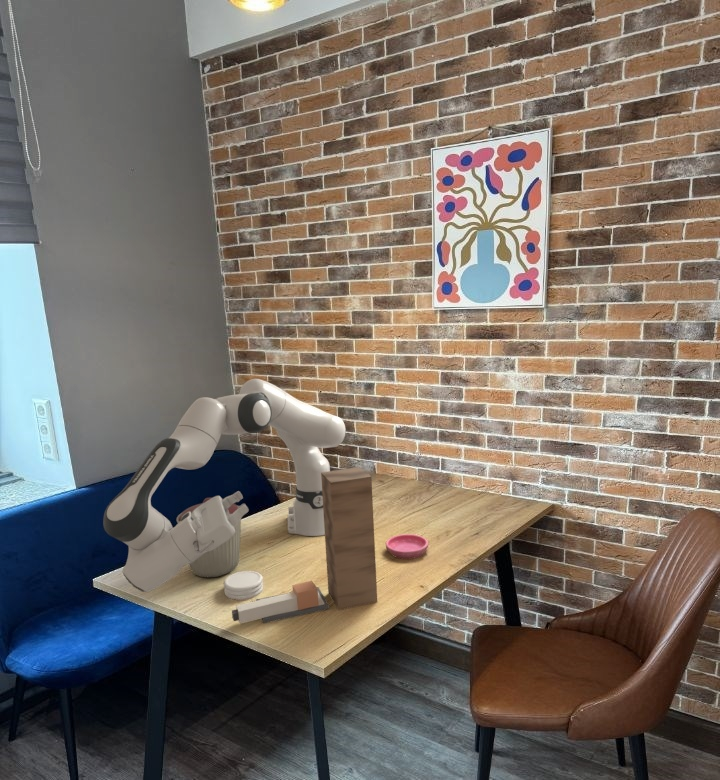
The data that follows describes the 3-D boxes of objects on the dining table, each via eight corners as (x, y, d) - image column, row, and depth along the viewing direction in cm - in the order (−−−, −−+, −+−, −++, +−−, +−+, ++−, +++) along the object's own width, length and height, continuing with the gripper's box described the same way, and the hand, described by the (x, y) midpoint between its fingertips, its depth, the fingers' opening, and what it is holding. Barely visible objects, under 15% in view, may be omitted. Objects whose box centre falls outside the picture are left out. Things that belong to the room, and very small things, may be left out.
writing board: (256, 603, 148) (256, 598, 148) (318, 590, 153) (318, 586, 153) (263, 623, 139) (262, 618, 139) (328, 608, 144) (328, 604, 143)
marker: (231, 617, 140) (230, 600, 139) (312, 597, 147) (311, 580, 147) (235, 626, 136) (233, 608, 135) (318, 605, 143) (317, 588, 143)
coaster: (218, 590, 156) (217, 578, 156) (252, 578, 162) (251, 566, 161) (235, 605, 148) (233, 592, 148) (270, 591, 154) (269, 579, 154)
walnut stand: (328, 593, 151) (321, 472, 146) (365, 585, 154) (359, 466, 149) (338, 610, 143) (330, 482, 138) (377, 601, 146) (371, 476, 141)
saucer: (406, 565, 165) (406, 555, 164) (377, 552, 175) (376, 542, 174) (437, 552, 173) (437, 542, 172) (407, 540, 182) (407, 530, 182)
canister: (259, 568, 168) (254, 496, 164) (201, 591, 156) (194, 515, 152) (227, 550, 181) (221, 483, 178) (171, 570, 169) (163, 499, 166)
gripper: (186, 544, 123) (242, 504, 126) (182, 512, 142) (231, 477, 145) (204, 566, 125) (258, 526, 128) (198, 531, 144) (245, 497, 147)
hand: (243, 500), depth 136 cm, fingers open, 8 cm apart
